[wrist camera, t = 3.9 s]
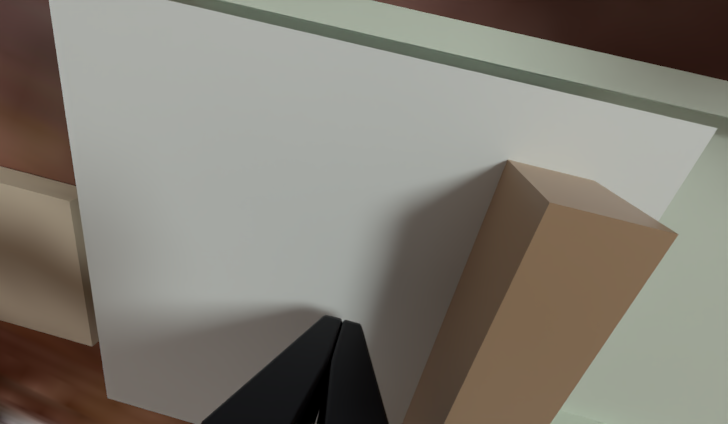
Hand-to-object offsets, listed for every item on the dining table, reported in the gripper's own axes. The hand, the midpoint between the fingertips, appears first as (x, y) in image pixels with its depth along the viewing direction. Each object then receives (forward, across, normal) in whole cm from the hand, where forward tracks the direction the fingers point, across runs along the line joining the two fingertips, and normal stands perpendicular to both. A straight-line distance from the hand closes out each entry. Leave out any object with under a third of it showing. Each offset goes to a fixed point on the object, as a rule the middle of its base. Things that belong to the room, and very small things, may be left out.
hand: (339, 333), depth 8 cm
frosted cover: (+5, +1, 0) cm, 5 cm away
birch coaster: (+6, +16, +6) cm, 18 cm away
